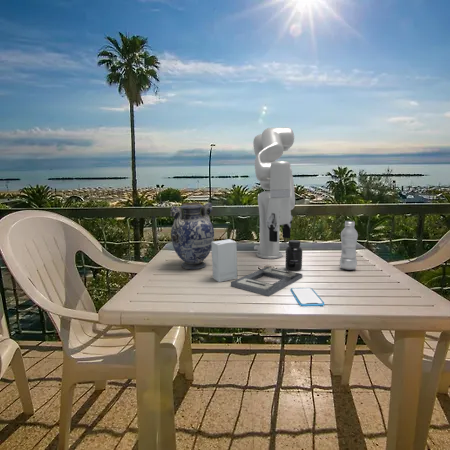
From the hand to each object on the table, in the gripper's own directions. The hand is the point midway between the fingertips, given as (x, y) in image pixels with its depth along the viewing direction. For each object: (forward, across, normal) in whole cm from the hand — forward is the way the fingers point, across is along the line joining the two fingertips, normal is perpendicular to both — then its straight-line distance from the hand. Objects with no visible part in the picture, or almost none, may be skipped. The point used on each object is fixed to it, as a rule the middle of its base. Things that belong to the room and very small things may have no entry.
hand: (280, 239), depth 122 cm
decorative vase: (+14, +10, -38) cm, 41 cm away
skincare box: (+15, +15, -16) cm, 26 cm away
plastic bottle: (+15, -25, +17) cm, 34 cm away
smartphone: (+16, +13, +17) cm, 27 cm away
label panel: (+15, +8, -1) cm, 17 cm away
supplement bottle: (+15, -13, -1) cm, 19 cm away
